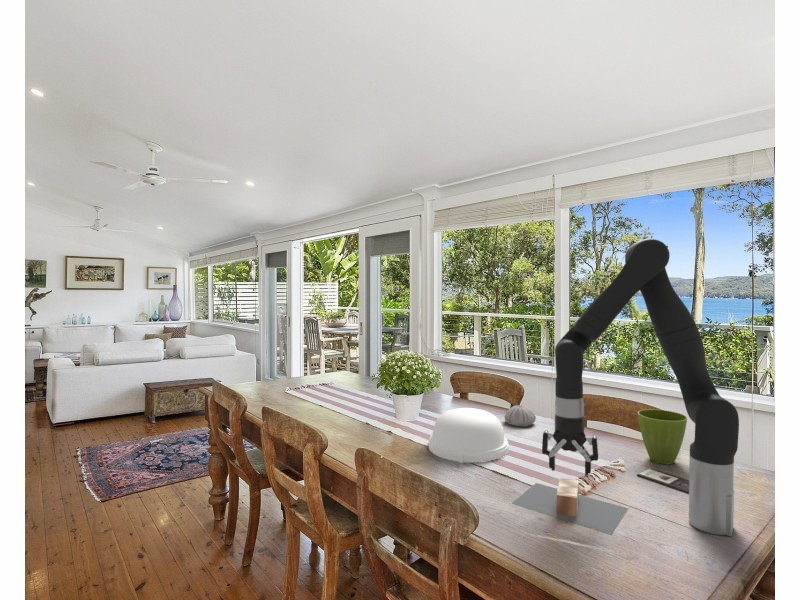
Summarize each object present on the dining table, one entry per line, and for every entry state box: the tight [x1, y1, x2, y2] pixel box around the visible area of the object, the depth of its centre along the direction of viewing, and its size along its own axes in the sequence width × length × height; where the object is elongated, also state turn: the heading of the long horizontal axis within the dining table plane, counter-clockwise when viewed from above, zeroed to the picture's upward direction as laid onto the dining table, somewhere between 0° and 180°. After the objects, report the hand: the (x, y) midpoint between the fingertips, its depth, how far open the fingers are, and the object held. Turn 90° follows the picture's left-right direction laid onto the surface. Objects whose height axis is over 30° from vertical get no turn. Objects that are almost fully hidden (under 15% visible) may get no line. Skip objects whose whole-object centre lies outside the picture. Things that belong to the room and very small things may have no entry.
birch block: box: [556, 477, 580, 517], centre depth 126 cm, size 5×5×12 cm
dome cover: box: [428, 407, 510, 464], centre depth 173 cm, size 32×30×14 cm
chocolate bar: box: [636, 467, 689, 495], centre depth 142 cm, size 9×1×18 cm
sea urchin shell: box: [504, 404, 537, 428], centre depth 204 cm, size 13×14×8 cm
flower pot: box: [637, 408, 688, 465], centre depth 160 cm, size 15×15×16 cm
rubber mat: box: [511, 482, 630, 536], centre depth 126 cm, size 26×17×1 cm, turn 51°
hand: (569, 472), depth 125 cm, fingers open, 8 cm apart
